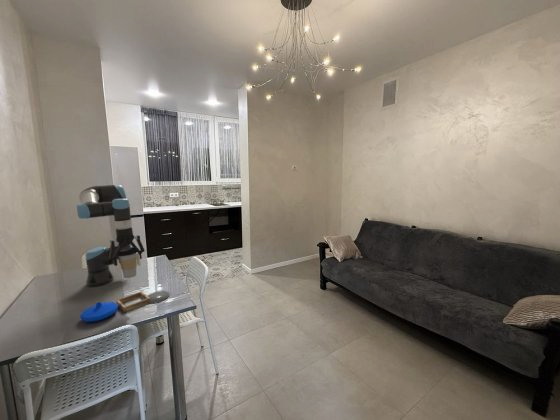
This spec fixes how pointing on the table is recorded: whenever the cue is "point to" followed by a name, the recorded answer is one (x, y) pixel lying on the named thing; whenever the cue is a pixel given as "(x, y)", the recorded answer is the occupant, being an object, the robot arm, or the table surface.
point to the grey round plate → (158, 296)
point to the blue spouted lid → (99, 311)
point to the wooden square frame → (135, 305)
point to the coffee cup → (128, 261)
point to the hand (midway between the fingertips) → (129, 267)
